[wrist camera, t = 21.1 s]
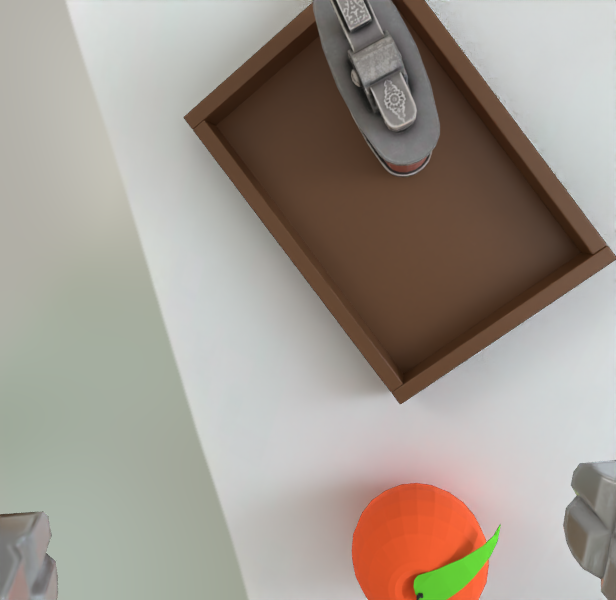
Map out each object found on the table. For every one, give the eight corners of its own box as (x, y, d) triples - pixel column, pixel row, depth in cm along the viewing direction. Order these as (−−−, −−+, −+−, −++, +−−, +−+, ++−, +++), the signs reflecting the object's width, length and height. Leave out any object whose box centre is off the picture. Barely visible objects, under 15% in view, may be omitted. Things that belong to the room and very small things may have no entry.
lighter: (445, 159, 30) (466, 131, 20) (385, 189, 31) (376, 175, 21) (380, 14, 29) (368, -87, 20) (320, 47, 30) (280, -35, 20)
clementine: (454, 431, 32) (467, 489, 25) (520, 534, 33) (552, 620, 26) (334, 496, 34) (316, 567, 27) (398, 594, 34) (396, 689, 27)
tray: (600, 255, 30) (618, 258, 27) (400, 390, 33) (400, 405, 30) (382, -37, 30) (380, -60, 27) (199, 124, 32) (182, 117, 30)
